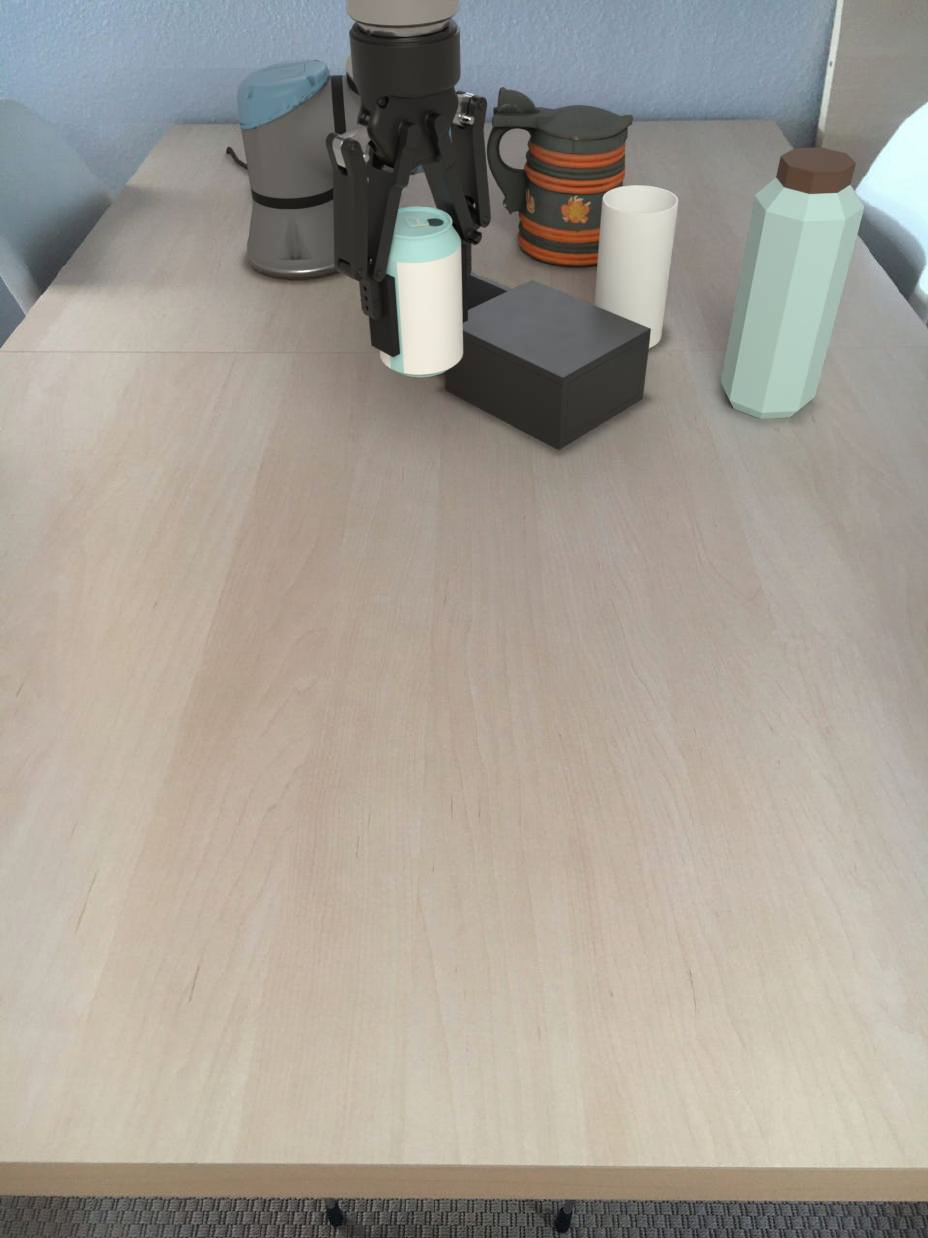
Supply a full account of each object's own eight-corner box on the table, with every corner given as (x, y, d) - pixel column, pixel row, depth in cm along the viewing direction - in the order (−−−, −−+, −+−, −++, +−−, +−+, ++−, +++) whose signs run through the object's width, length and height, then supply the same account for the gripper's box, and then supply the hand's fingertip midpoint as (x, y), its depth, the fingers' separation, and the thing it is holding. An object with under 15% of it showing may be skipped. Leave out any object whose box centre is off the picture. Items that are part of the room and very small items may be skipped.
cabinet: (445, 390, 110) (443, 321, 104) (530, 346, 117) (532, 279, 111) (558, 450, 101) (562, 378, 96) (642, 398, 108) (651, 328, 102)
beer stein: (487, 270, 132) (487, 108, 118) (486, 225, 143) (486, 72, 129) (630, 268, 132) (646, 105, 118) (618, 223, 142) (632, 70, 128)
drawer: (349, 329, 119) (344, 278, 114) (426, 294, 125) (423, 244, 121) (478, 395, 107) (477, 341, 103) (555, 354, 114) (558, 301, 109)
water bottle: (816, 383, 110) (877, 146, 92) (808, 430, 103) (872, 184, 86) (725, 369, 112) (768, 136, 95) (711, 415, 105) (755, 172, 88)
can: (414, 331, 88) (407, 194, 79) (479, 354, 85) (478, 214, 76) (363, 365, 84) (350, 225, 75) (429, 390, 81) (423, 247, 72)
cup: (659, 354, 115) (676, 216, 104) (588, 348, 116) (598, 211, 105) (663, 320, 121) (680, 186, 110) (596, 315, 122) (606, 182, 111)
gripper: (322, 64, 60) (357, 396, 76) (545, 1, 69) (534, 306, 86) (249, 41, 64) (297, 361, 80) (470, -16, 73) (473, 279, 89)
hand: (420, 332), depth 83 cm, fingers closed on can, 7 cm apart
